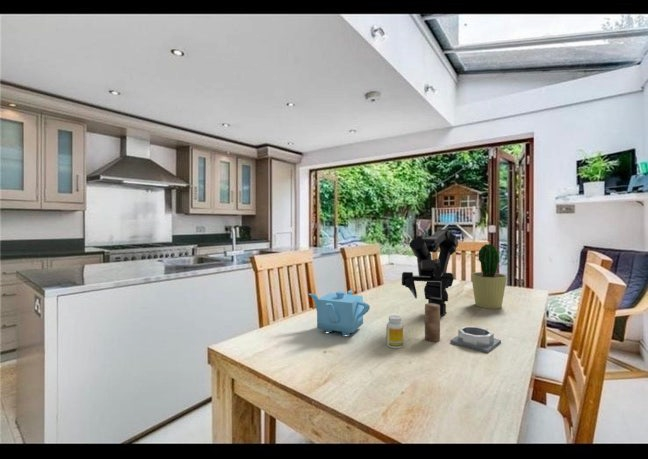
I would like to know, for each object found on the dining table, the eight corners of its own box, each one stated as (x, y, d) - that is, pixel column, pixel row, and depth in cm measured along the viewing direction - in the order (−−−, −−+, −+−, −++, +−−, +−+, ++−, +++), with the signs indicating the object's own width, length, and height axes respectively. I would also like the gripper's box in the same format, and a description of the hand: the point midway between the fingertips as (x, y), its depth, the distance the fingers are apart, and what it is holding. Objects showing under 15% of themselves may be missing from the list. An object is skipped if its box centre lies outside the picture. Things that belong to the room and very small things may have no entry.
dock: (450, 343, 113) (450, 331, 113) (465, 334, 121) (465, 323, 121) (487, 353, 104) (487, 340, 104) (501, 342, 113) (501, 331, 113)
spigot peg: (422, 339, 117) (422, 305, 116) (429, 335, 120) (429, 302, 120) (435, 343, 113) (435, 307, 113) (442, 339, 117) (442, 305, 116)
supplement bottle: (383, 344, 112) (383, 316, 112) (396, 341, 115) (396, 313, 114) (393, 349, 108) (393, 320, 107) (406, 347, 110) (406, 318, 110)
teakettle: (373, 335, 121) (373, 295, 121) (325, 342, 115) (324, 299, 114) (351, 320, 139) (351, 285, 138) (308, 326, 132) (307, 289, 132)
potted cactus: (507, 303, 163) (508, 242, 162) (505, 311, 150) (506, 244, 149) (473, 300, 171) (473, 241, 170) (468, 306, 158) (468, 243, 157)
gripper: (402, 251, 129) (404, 285, 119) (452, 251, 126) (459, 286, 116) (400, 268, 137) (402, 301, 127) (448, 269, 134) (454, 303, 124)
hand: (429, 298), depth 123 cm, fingers open, 9 cm apart
